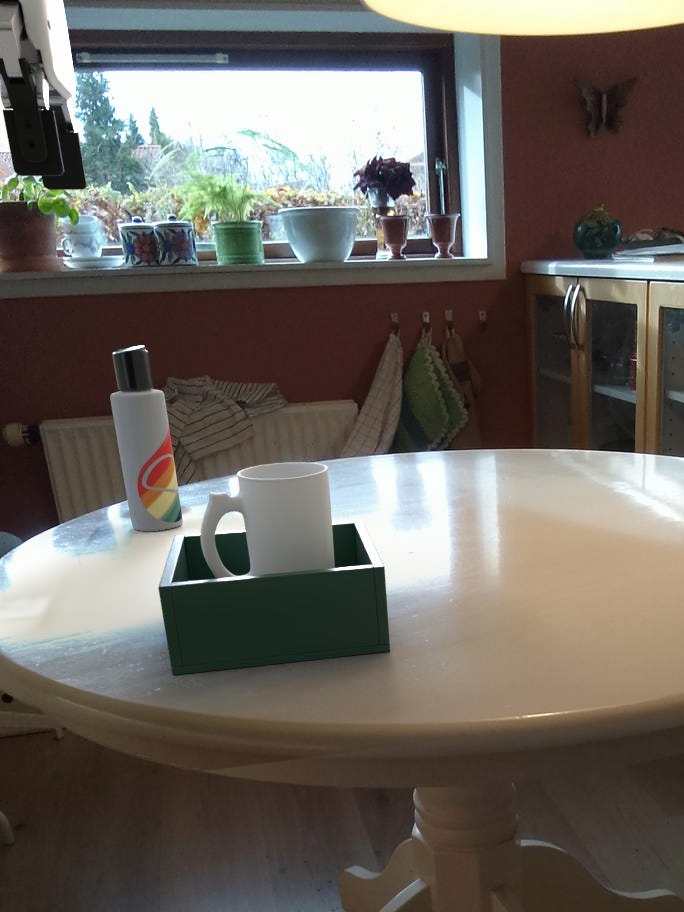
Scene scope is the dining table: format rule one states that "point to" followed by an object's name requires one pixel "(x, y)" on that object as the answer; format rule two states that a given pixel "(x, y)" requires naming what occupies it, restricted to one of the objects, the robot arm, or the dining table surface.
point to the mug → (276, 519)
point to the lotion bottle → (144, 443)
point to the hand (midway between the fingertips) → (53, 182)
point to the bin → (272, 605)
